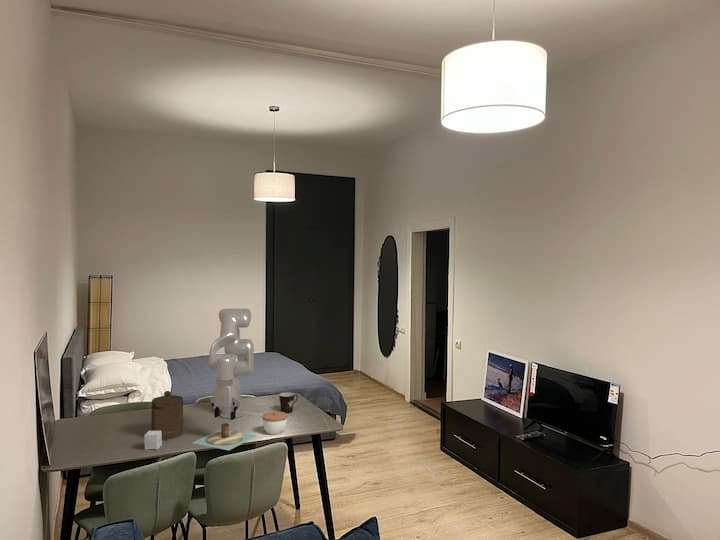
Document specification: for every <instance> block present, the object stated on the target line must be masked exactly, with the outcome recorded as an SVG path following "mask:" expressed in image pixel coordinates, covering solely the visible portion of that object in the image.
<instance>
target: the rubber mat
mask: <svg viewBox="0 0 720 540" xmlns="http://www.w3.org/2000/svg"><path fill="white" fill-rule="evenodd" d="M220 431H221V429H220V430H216V431H215V432H213V433H216V432H220ZM229 431H231V430H230V429H229ZM239 432H240V431H239ZM213 433H211V434H213ZM240 433H242V434H243V439H242V440H241V441H240V442H238V443H235V444H231V445H212V444H209V443H208V442H207V437H208V436H209V435H210V434H209V435H206V436H203V437H202V438H201V437H200V438H199V439H197V440H195V441H192V442H191V444H195V445H199V446H205V447H210V448H215V449H220V450H225V451H231V450H233V449H235V448H236V447H238V446H241V445H243V444H244V443H247V442H248V441H250V440H252V439H254V438H256V437H257V436H258V435H257V434H251V433H244V432H240Z"/></svg>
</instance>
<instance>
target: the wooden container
mask: <svg viewBox="0 0 720 540" xmlns="http://www.w3.org/2000/svg"><path fill="white" fill-rule="evenodd" d="M183 404H184V398H183V396H181V395H177V394H176V395H175V394H174V395H172V392H171V391H170V390H166V391H164V393H163V395H161V396H160V395H159V396H157V397H154V398H153V399H152V400H151V431H162V441H167V440H166V439H170V440H172V439H177V438H179V437H181V436H183V435H184V405H183Z"/></svg>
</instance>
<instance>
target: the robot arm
mask: <svg viewBox="0 0 720 540" xmlns="http://www.w3.org/2000/svg"><path fill="white" fill-rule="evenodd" d="M218 320H219V321H220V331H219V337H217V339H215V341H214V342H213V343H212V344H211V345H210V349H209V354H208V367H209V369H210V370H216V379H215V382H216V385H215V386H214V393H213V397H212V398H210V399H209V401H210V404H211V406H212V409H213V411H214V412H213V414H214V415H213V417H214V418H218V417H221V418H224V419H229V420H230V421H233V420H235V419H237V418H239V417H240V418H241V417H242V416H244V411H243V410H241V409H242V408H241V407H242V406H241V404H242V401H241V397H242V396H241V395H242V394H241V393H242V392H241V390H242V389H241V387H242V386H241V381H240V380H239V378H238V376H239V377H244V376H245V377H246V376H252V375H253V373H254V370H255V369H254V367H255V363H254V361H255V357H254V342H253V340H252V339H250V338H241V335H240V334H241V330H240V329H241V328H248V327H249V326H250V324H251V320H252V312H251V310H250V309H249V308H222V309H220V310H219V312H218ZM222 348H223V349H224V353H220V354H217V352H218V351H219V350H220V349H222ZM239 357H244V358H239ZM220 411H221V412H220Z"/></svg>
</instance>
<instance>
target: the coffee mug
mask: <svg viewBox="0 0 720 540" xmlns="http://www.w3.org/2000/svg"><path fill="white" fill-rule="evenodd" d="M278 395H279V396H278V397H279V404H280V412H284V413H286V414H292V413H293V411H294V404H295V403H296V402H297V401H298V395H297V394H295V393H294V392H289V391H287V392H282V393H279V394H278ZM295 396H296V399H295ZM294 400H295V401H294Z"/></svg>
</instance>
